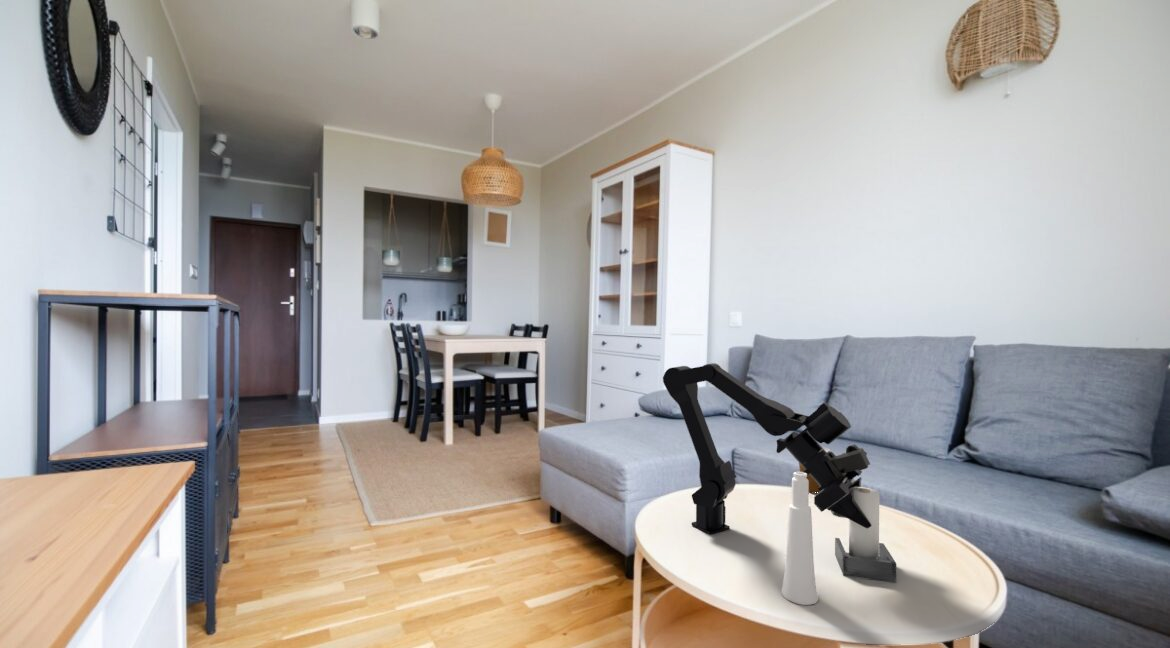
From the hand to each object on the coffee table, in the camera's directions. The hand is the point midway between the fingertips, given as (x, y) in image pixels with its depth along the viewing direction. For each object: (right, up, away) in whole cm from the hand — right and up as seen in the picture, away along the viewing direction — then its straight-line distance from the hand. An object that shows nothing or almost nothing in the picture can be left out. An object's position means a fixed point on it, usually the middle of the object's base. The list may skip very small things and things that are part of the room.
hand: (871, 522), depth 100 cm
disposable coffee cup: (+10, -9, +47) cm, 49 cm away
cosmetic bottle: (-18, -10, -9) cm, 23 cm away
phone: (+12, -10, +34) cm, 37 cm away
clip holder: (-1, -9, +1) cm, 9 cm away
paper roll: (-1, -7, +1) cm, 7 cm away
